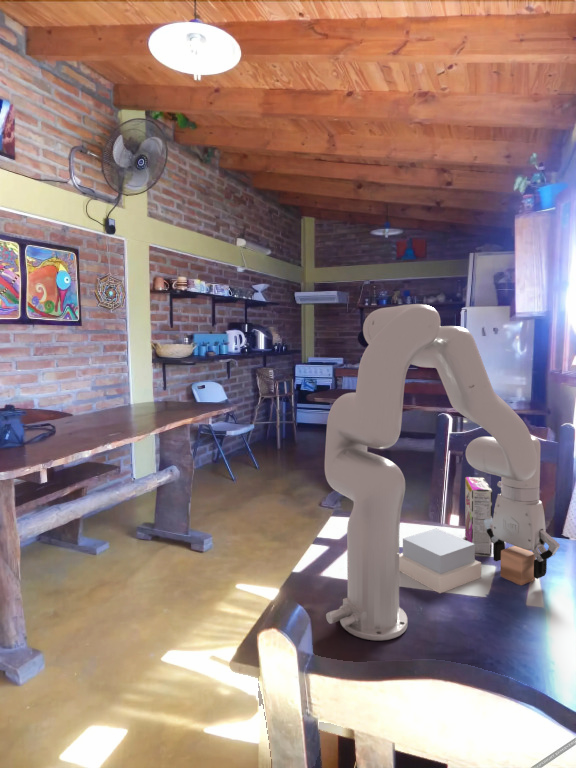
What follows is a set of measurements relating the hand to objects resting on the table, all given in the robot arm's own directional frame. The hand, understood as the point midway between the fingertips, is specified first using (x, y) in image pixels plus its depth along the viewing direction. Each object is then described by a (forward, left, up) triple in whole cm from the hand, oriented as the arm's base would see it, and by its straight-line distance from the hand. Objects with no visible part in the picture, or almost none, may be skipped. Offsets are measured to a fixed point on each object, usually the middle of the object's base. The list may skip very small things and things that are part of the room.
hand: (518, 567), depth 108 cm
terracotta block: (0, 0, -2) cm, 2 cm away
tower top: (-13, +11, +1) cm, 17 cm away
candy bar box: (+7, +16, -2) cm, 18 cm away
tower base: (-13, +11, -3) cm, 17 cm away
